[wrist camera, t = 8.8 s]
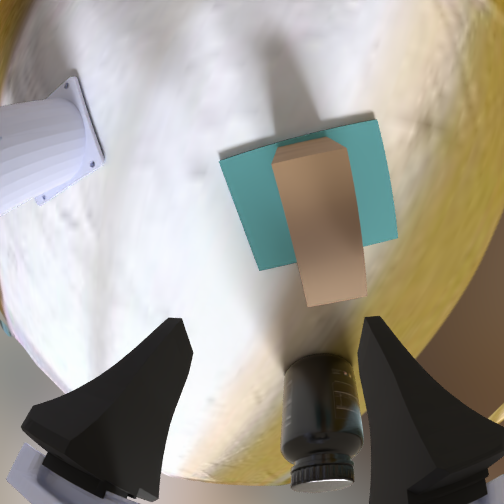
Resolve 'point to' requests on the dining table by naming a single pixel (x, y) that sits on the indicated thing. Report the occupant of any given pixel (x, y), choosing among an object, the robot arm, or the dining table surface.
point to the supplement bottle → (321, 423)
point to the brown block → (322, 219)
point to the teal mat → (270, 205)
